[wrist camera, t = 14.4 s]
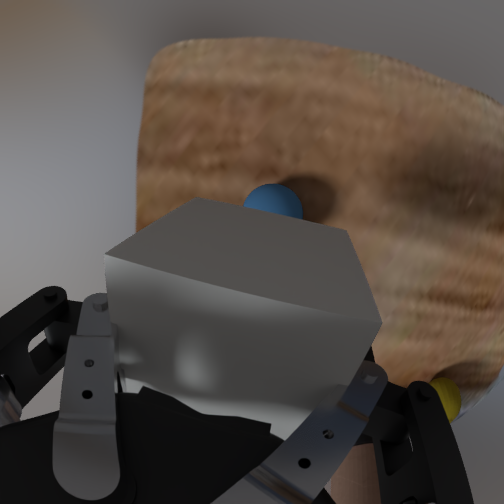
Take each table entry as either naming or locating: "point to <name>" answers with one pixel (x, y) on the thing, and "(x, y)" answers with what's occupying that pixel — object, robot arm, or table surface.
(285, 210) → the ball
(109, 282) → the matte gray cube
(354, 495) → the travel mug
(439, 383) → the lemon
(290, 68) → the table surface
